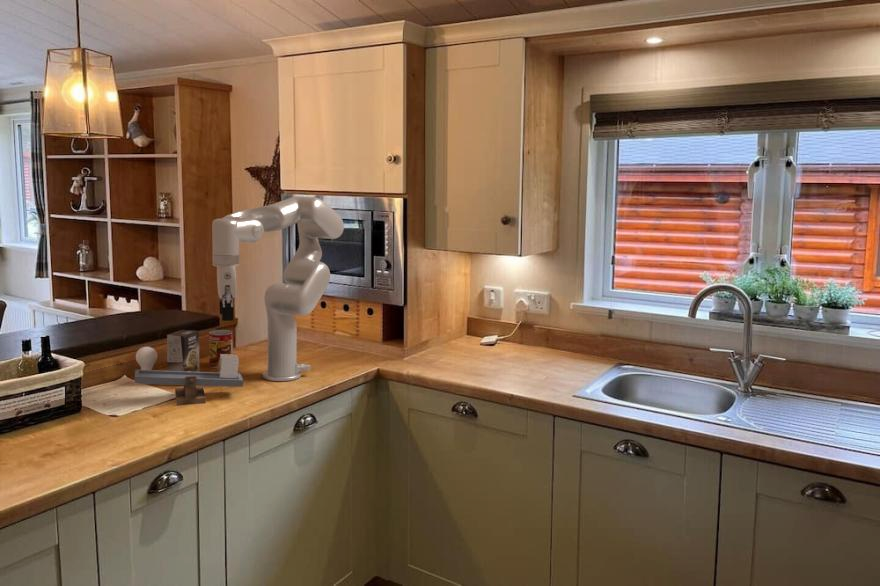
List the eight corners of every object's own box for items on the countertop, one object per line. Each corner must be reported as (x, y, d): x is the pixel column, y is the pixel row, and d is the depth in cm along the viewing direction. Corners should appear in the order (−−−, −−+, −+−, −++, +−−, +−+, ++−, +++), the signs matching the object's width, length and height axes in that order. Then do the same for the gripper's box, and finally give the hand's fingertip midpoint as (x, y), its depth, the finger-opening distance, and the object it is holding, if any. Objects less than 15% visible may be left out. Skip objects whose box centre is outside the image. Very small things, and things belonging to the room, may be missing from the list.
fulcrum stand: (202, 391, 218) (202, 365, 217) (205, 403, 207) (205, 376, 205) (175, 393, 215) (174, 367, 214) (176, 405, 204) (176, 378, 202)
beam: (239, 379, 220) (240, 373, 219) (242, 386, 212) (243, 380, 212) (134, 376, 208) (135, 369, 208) (134, 383, 201) (134, 376, 200)
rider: (234, 376, 217) (237, 354, 217) (236, 381, 213) (239, 358, 212) (218, 376, 215) (220, 354, 215) (219, 380, 211) (221, 358, 210)
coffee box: (185, 386, 223) (184, 336, 220) (166, 384, 224) (165, 334, 222) (200, 378, 232) (199, 330, 229) (182, 376, 233) (181, 328, 230)
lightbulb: (144, 384, 223) (143, 350, 221) (132, 380, 226) (131, 347, 225) (161, 379, 228) (161, 346, 227) (149, 376, 232) (148, 343, 230)
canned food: (206, 364, 249) (205, 331, 247) (227, 361, 254) (227, 329, 252) (213, 369, 243) (213, 335, 241) (236, 366, 248) (235, 333, 246)
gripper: (242, 264, 202) (242, 322, 205) (236, 257, 218) (236, 311, 221) (214, 264, 199) (215, 323, 202) (210, 257, 215) (211, 312, 218)
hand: (226, 317), depth 211 cm, fingers open, 9 cm apart
